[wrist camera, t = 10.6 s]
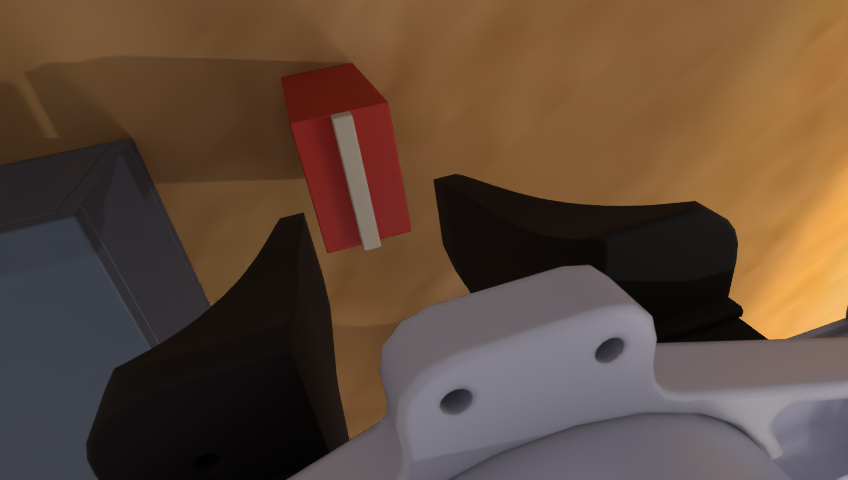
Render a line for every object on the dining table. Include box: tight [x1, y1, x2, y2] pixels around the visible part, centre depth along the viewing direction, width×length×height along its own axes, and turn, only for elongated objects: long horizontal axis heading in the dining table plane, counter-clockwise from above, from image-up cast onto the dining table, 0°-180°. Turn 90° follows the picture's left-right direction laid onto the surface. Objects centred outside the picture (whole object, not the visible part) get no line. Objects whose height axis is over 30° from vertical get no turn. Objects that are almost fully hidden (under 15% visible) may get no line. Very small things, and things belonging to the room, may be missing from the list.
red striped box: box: [282, 63, 411, 253], centre depth 19 cm, size 5×3×8 cm, turn 9°
